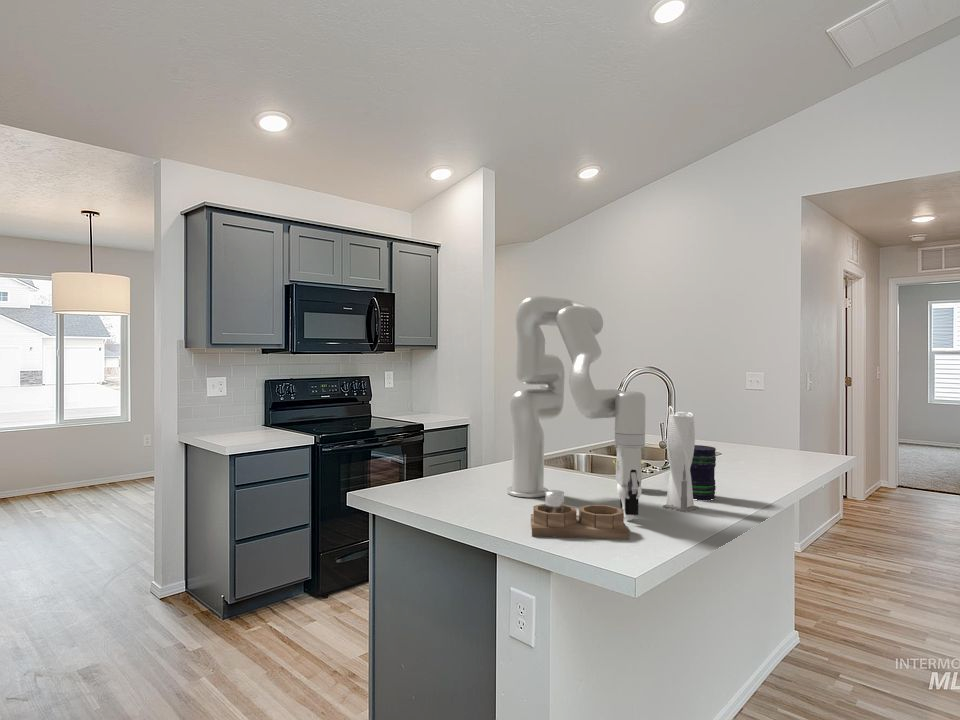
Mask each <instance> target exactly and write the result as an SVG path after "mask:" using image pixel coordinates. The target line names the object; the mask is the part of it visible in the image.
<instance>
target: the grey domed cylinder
mask: <svg viewBox="0 0 960 720" xmlns="http://www.w3.org/2000/svg"><path fill="white" fill-rule="evenodd" d="M544 504H545V512H547V513H564V505H565V492H564V491H562V490H560V489H559V490H558V489H548V491H546V496H545V503H544Z"/></svg>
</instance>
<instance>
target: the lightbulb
mask: <svg viewBox="0 0 960 720" xmlns="http://www.w3.org/2000/svg"><path fill="white" fill-rule="evenodd" d="M637 483H638V481H637ZM628 486H632V485H631V484H628ZM629 491H630V489H629ZM642 491H643V488H642V485H641V486H640V487H638V499H640V497H641V496H642V495H641V494H642ZM616 492H617V495H618V497H619V498H620V499H621V501H622V505H623V508H622V511H623V512H624V519H625V520H626V521H627V522H630V521H632V520H634V519H635V515H626V514H625V498H626V485H624V487H622V486H621V485H620V484H619V483H618V482H617V485H616ZM620 499H619V500H620Z"/></svg>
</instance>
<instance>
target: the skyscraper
mask: <svg viewBox="0 0 960 720" xmlns="http://www.w3.org/2000/svg"><path fill="white" fill-rule="evenodd" d="M671 412H672V414H671ZM667 420H668V421H667V429H666V450H667V458H668V464H669V469H670V471H669V477H668V485H667V486H668V487H667V492H666V493H667V494H666V504H663V505H662V508H664V507H667V508H666V509H669V508H671V509H670V510H673V509H676V510H675V511H678V510H680V511H679V512H682V511H685V512H684V513H687V512H686V511H688V512H690V511H689V510H691V511H694V510H693V509H695V510H697V509H696V508H698V509H699V508H700V506H697V505H694V500H693V491H692V481H691V474H690V467H691V463H692V459H693V454H694V446H695V445H696V444H695V443H696V442H695V441H696V440H695V439H696V431H695V417H694V414H693V413H692V412H691V411H689V412H685V411H676V412H675V410H674V408H673V406H671V405H669V406H668V419H667Z"/></svg>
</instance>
